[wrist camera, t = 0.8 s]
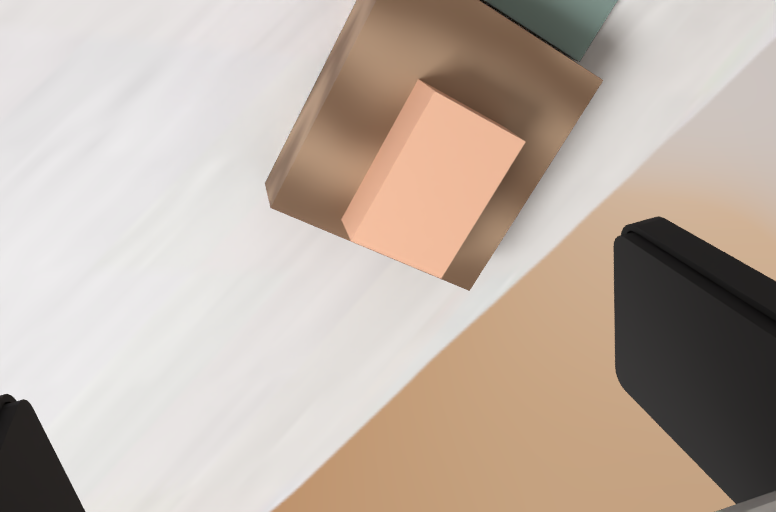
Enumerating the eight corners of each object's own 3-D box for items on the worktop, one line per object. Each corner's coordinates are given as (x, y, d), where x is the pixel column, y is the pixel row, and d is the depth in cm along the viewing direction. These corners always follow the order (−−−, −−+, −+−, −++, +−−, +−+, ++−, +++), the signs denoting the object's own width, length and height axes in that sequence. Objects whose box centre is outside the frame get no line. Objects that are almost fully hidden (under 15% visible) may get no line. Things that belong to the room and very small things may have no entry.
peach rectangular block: (418, 78, 36) (434, 91, 34) (503, 126, 39) (525, 141, 36) (341, 219, 39) (350, 240, 36) (426, 256, 41) (441, 278, 39)
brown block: (383, -53, 37) (401, -50, 33) (570, 67, 42) (603, 80, 39) (264, 183, 41) (270, 208, 37) (449, 263, 47) (469, 290, 43)
